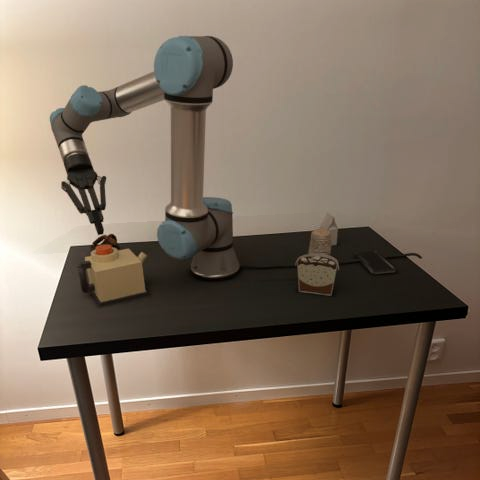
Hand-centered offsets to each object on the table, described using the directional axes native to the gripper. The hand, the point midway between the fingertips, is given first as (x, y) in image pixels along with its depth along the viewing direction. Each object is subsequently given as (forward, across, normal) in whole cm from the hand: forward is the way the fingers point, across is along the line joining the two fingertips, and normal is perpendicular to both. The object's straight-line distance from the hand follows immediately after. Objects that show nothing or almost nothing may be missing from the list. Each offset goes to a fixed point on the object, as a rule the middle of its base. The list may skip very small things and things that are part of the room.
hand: (100, 232), depth 138 cm
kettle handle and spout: (+15, -2, -10) cm, 18 cm away
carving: (+26, -62, 0) cm, 67 cm away
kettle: (+15, -2, -10) cm, 18 cm away
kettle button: (+5, 0, -4) cm, 6 cm away
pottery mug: (-6, -7, -32) cm, 33 cm away
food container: (+35, -52, +10) cm, 64 cm away
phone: (+31, -79, +6) cm, 85 cm away
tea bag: (+14, -78, -11) cm, 81 cm away
